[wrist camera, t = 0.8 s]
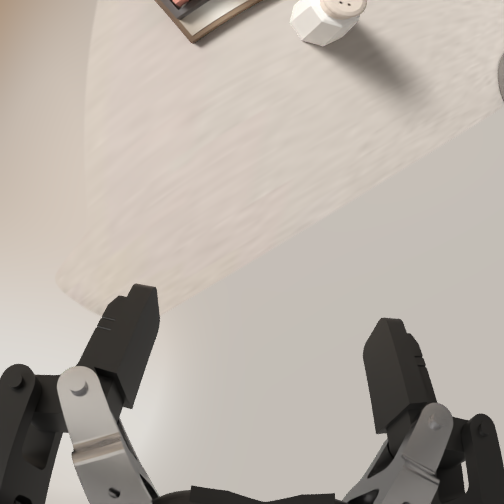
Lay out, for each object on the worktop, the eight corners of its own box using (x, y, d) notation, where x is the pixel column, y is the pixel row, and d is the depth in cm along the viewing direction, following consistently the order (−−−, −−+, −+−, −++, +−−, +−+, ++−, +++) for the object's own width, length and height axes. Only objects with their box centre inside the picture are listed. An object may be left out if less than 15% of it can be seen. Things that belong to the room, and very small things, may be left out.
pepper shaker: (324, 57, 24) (356, 52, 15) (277, 25, 22) (283, 0, 13) (356, 20, 21) (402, 0, 12) (310, -13, 20) (332, -52, 11)
